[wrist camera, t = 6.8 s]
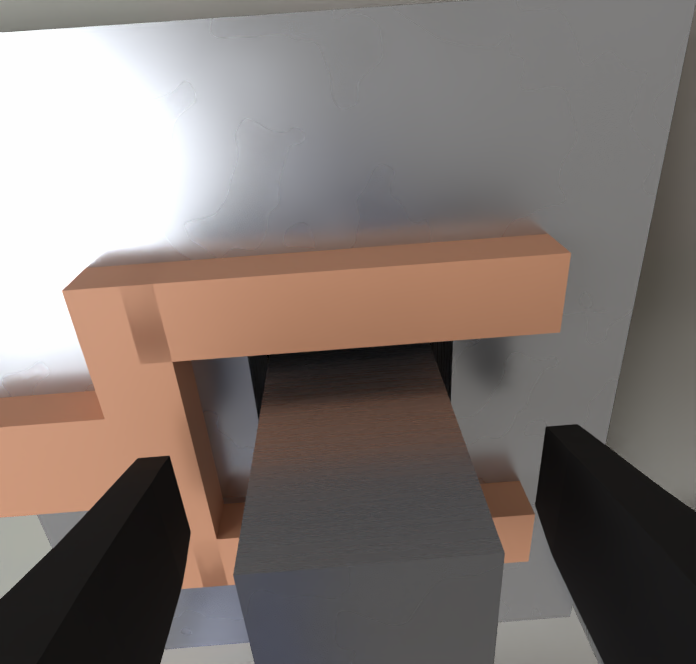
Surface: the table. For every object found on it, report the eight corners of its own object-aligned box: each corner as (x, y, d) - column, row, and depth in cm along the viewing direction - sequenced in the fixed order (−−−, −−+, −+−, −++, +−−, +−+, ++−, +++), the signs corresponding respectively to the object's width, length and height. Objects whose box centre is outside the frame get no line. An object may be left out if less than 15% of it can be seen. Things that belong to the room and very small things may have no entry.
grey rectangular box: (412, 402, 15) (489, 705, 8) (293, 412, 15) (269, 723, 8) (411, 293, 14) (505, 554, 7) (278, 304, 14) (233, 575, 7)
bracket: (514, 526, 14) (528, 561, 13) (58, 562, 14) (39, 600, 13) (548, 233, 11) (571, 252, 10) (-71, 279, 10) (-110, 303, 10)
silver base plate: (540, 547, 18) (569, 616, 16) (127, 580, 18) (100, 654, 16) (623, -4, 11) (699, -16, 9) (-77, 44, 11) (-178, 45, 9)
